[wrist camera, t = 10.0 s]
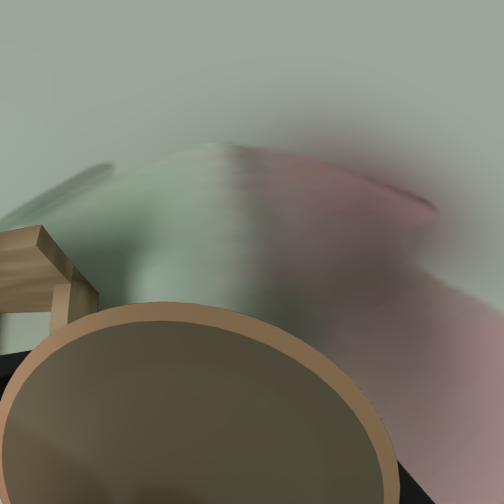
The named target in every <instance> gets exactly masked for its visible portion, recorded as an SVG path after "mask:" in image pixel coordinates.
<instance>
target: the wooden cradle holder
mask: <svg viewBox="0 0 504 504" xmlns="http://www.w3.org/2000/svg"><path fill="white" fill-rule="evenodd" d="M97 308H98V292H97V291H96V290H95V289H94V288H93V286H92V285H91V284H90V283H89V282H88V281H87V280H86V279H85V278H84V276H83V275H82V274H81V273H80V272H79V271H78V269H77V268H76V267H75V266H74V265H73V264H72V262H71V261H70V260H69V259H68V258H67V256H66V255H65V254H64V253H63V252H62V250H61V249H60V248H59V247H58V245H57V244H56V243H55V242H54V240H53V239H52V238H51V236H50V235H49V234H48V233H47V231H46V230H45V229H44V227H43V226H42V225H36V226H31V227H26V228H21V229H16V230H11V231H6V232H2V233H0V313H21V312H51V321H50V334H49V336H50V335H52V334H53V333H55V332H56V331H58V330H59V329H61V328H62V327H64V326H66V325H68V324H70V323H72V322H74V321H76V320H78V319H80V318H82V317H84V316H87V315H90V314H93V313H96V312H97Z"/></svg>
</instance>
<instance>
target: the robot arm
mask: <svg viewBox="0 0 504 504" xmlns="http://www.w3.org/2000/svg"><path fill="white" fill-rule="evenodd" d="M31 351H33V350H30V351H25V352H19V353H12V354H6V355H0V401H1V398H2V396H3V393H4V391H5V388H6V386H7V385H8V383H9V381H10V379H11V378H12V376H13V374H14V373H15V371H16V369H17V368H18V367H19V366H20V364H21V363H22V362H23V361H24V359H25V358H26V357H27V356H28V354H29V353H30V352H31ZM396 460H397V459H396ZM397 463H398V472H399V481H400V497H399V504H435V503H434V502H433V501H432V500H431V498H430V497H429V496H428V495H427V494H426V493H425V492H424V491H423V489H422V488H421V487H420V486H419V485H418V484H417V482H416V481H415V480H414V479H413V478H412V477H411V476H410V474H409V473H408V472H407V471H406V470H405V469H404V467H403V466H402V465H401V464H400V463H399V462H398V460H397Z"/></svg>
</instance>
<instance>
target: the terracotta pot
mask: <svg viewBox="0 0 504 504" xmlns="http://www.w3.org/2000/svg"><path fill="white" fill-rule="evenodd" d="M399 497H400V481H399V472H398V463H397V460H396V456H395V453H394V449H393V446H392V442H391V439H390V437H389V435H388V433H387V431H386V429H385V426H384V424H383V422H382V420H381V418H380V416H379V415H378V413H377V412H376V410H375V409H374V407H373V406H372V404H371V403H370V401H369V400H368V398H367V397H366V395H365V394H364V393H363V392H362V391H361V390H360V389H359V387H358V386H357V385H356V384H355V383H354V382H353V381H352V379H351V378H350V377H349V376H348V375H347V374H346V373H344V372H343V371H342V370H341V369H340V368H339V367H338V366H336V365H335V364H334V363H333V362H332V361H331V360H330V359H329V358H327V357H326V356H324V355H323V354H321V353H320V352H319V351H317V350H316V349H314V348H313V347H311V346H310V345H308V344H307V343H305V342H304V341H302V340H300V339H299V338H297V337H295V336H293V335H291V334H289V333H287V332H285V331H283V330H282V329H280V328H278V327H276V326H273V325H270V324H268V323H265V322H263V321H260V320H258V319H255V318H253V317H250V316H247V315H244V314H240V313H236V312H233V311H229V310H226V309H222V308H217V307H211V306H205V305H199V304H193V303H178V302H150V303H135V304H129V305H124V306H119V307H113V308H109V309H106V310H102V311H99V312H96V313H93V314H90V315H87V316H84V317H82V318H80V319H78V320H76V321H74V322H72V323H70V324H68V325H66V326H64V327H62V328H61V329H59V330H58V331H56V332H55V333H53V334H52V335H50V336H49V337H47V338H46V339H45V340H44V341H42V342H41V343H40V344H39V345H38V346H37V347H36V348H35V349H34V350H33V351H31V352H30V353H29V354H28V356H27V357H26V358H25V359H24V361H23V362H22V363H21V364H20V366H19V367H18V368H17V369H16V371H15V373H14V374H13V376H12V378H11V379H10V381H9V383H8V385H7V386H6V388H5V391H4V393H3V396H2V398H1V401H0V498H1V501H2V503H3V504H399Z"/></svg>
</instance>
